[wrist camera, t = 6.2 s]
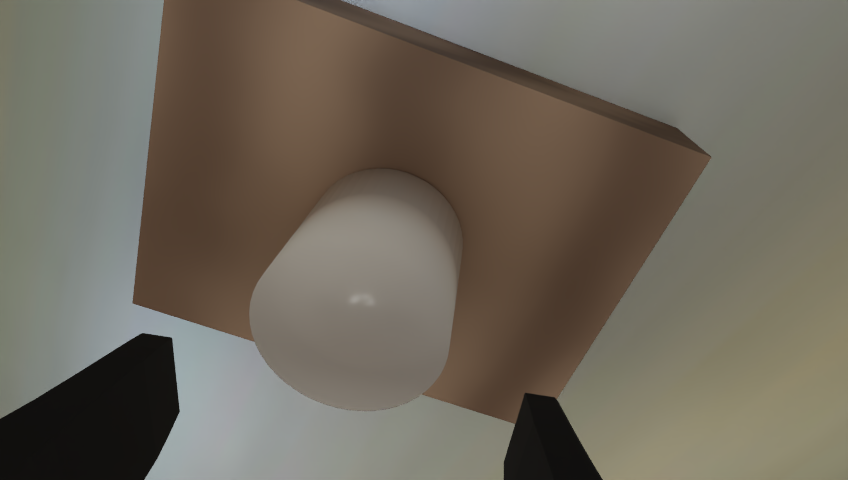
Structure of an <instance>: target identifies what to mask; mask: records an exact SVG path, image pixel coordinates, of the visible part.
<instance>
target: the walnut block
mask: <svg viewBox="0 0 848 480" xmlns="http://www.w3.org/2000/svg"><path fill="white" fill-rule="evenodd" d="M710 159H711V156H710V155H708V154H707V153H706V152H705V151H704V150H702V149H701V148H700V147H699V146H698V145H696V144H695V143H694V142H693V141H692V140H690V139H689V138H688V137H687V136H686V135H684V134H683V133H682V132H681V131H680V130H678V129H677V128H675V127H672V126H670V125H667V124H665V123H662V122H659V121H657V120H654V119H651V118H649V117H646V116H644V115H641V114H638V113H636V112H633V111H630V110H628V109H625V108H623V107H620V106H617V105H615V104H612V103H609V102H607V101H604V100H601V99H599V98H596V97H594V96H591V95H588V94H586V93H583V92H580V91H578V90H575V89H573V88H570V87H567V86H565V85H562V84H559V83H557V82H554V81H552V80H549V79H546V78H544V77H541V76H538V75H536V74H533V73H531V72H528V71H525V70H523V69H520V68H517V67H515V66H512V65H510V64H507V63H504V62H502V61H499V60H496V59H494V58H491V57H489V56H486V55H483V54H481V53H478V52H475V51H473V50H470V49H468V48H465V47H462V46H460V45H457V44H454V43H452V42H449V41H447V40H444V39H441V38H439V37H436V36H433V35H431V34H428V33H426V32H423V31H420V30H418V29H415V28H412V27H410V26H407V25H405V24H402V23H399V22H397V21H394V20H391V19H389V18H386V17H383V16H381V15H378V14H376V13H373V12H370V11H368V10H365V9H362V8H360V7H357V6H355V5H352V4H349V3H347V2H344V1H341V0H164V7H163V16H162V26H161V35H160V45H159V55H158V64H157V74H156V83H155V93H154V103H153V112H152V122H151V131H150V141H149V151H148V160H147V170H146V179H145V189H144V198H143V208H142V218H141V227H140V237H139V246H138V256H137V266H136V275H135V285H134V294H133V304H136V305H140V306H143V307H146V308H149V309H152V310H155V311H159V312H162V313H165V314H168V315H171V316H174V317H178V318H181V319H184V320H187V321H190V322H194V323H197V324H200V325H203V326H206V327H209V328H213V329H216V330H219V331H222V332H225V333H228V334H232V335H235V336H238V337H241V338H244V339H248V340H251V341H254V338H253V336H252V332H251V327H250V319H249V310H250V301H251V298H252V294H253V291H254V289H255V287H256V285H257V282H258V281H259V279H260V278H261V277H262V275H263V274H264V272H265V271H266V270H267V268H268V267H269V266H270V264H271V263H272V262H273V260H274V259H275V258H276V256H277V255H278V254H279V253H280V251H281V250H282V249H283V247H284V246H285V245H286V243H287V242H288V241H289V239H290V238H291V237H292V235H293V234H294V233H295V231H296V230H297V229H298V228H299V226H300V225H301V224H302V222H303V221H304V220H305V218H306V217H307V216H308V214H309V213H310V212H311V210H312V209H313V208H314V206H315V205H316V204H317V203H318V201H319V200H320V199H321V197H322V196H323V195H324V193H325V192H326V191H327V190H328V189H329V188H330V187H331V186H332V185H333V184H335V183H336V182H337V181H338V180H340V179H342V178H344V177H345V176H347V175H350V174H352V173H355V172H358V171H362V170H367V169H376V168H380V169H393V170H399V171H402V172H406V173H409V174H411V175H414V176H416V177H418V178H420V179H422V180H424V181H426V182H427V183H429V184H430V185H431V186H433V187H434V188H435V189H437V190H438V191H439V192H440V193H441V194H442V195H443V196H444V197H445V199H446V200H447V201H448V202H449V203H450V205H451V207H452V208H453V210H454V211H455V213H456V216H457V218H458V220H459V223H460V227H461V230H462V237H463V250H462V258H461V265H460V273H459V280H458V288H457V295H456V303H455V310H454V318H453V325H452V332H451V340H450V347H449V353H448V358H447V361H446V364H445V367H444V369H443V370H442V372H441V374H440V376H439V377H438V379H437V380H436V381H435V382H434V384H433V385H432V386H431V387H430V388H429V389H428V390H427V391H425V392H424V393H423V394H422V395H425V396H429V397H432V398H435V399H438V400H441V401H444V402H448V403H451V404H454V405H457V406H460V407H463V408H467V409H470V410H473V411H476V412H479V413H483V414H486V415H489V416H492V417H495V418H498V419H502V420H505V421H508V422H511V423H514V424H516V420H517V417H518V414H519V411H520V407H521V404H522V401H523V397H524V394H525V393H531V394H537V395H544V396H550V397H555V398H556V399H557V398H558V396H559V395H560V393H561V392H562V390H563V388H564V387H565V385H566V384H567V382H568V381H569V379H570V377H571V376H572V374H573V373H574V371H575V370H576V368H577V367H578V365H579V363H580V362H581V360H582V359H583V357H584V356H585V354H586V352H587V351H588V349H589V348H590V346H591V345H592V343H593V342H594V340H595V338H596V337H597V335H598V334H599V332H600V331H601V329H602V327H603V326H604V324H605V323H606V321H607V320H608V318H609V317H610V315H611V313H612V312H613V310H614V309H615V307H616V306H617V304H618V302H619V301H620V299H621V298H622V296H623V295H624V293H625V292H626V290H627V288H628V287H629V285H630V284H631V282H632V281H633V279H634V278H635V276H636V274H637V273H638V271H639V270H640V268H641V267H642V265H643V263H644V262H645V260H646V259H647V257H648V256H649V254H650V253H651V251H652V249H653V248H654V246H655V245H656V243H657V242H658V240H659V238H660V237H661V235H662V234H663V232H664V231H665V229H666V228H667V226H668V224H669V223H670V221H671V220H672V218H673V217H674V215H675V213H676V212H677V210H678V209H679V207H680V206H681V204H682V203H683V201H684V199H685V198H686V196H687V195H688V193H689V192H690V190H691V188H692V187H693V185H694V184H695V182H696V181H697V179H698V178H699V176H700V174H701V173H702V171H703V170H704V168H705V167H706V165H707V163H708V162H709V160H710ZM254 342H255V341H254Z"/></svg>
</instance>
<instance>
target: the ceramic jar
mask: <svg viewBox="0 0 848 480" xmlns="http://www.w3.org/2000/svg"><path fill="white" fill-rule="evenodd" d="M462 250H463V237H462V230H461V227H460V223H459V220H458V218H457V216H456V213H455V211H454V210H453V208H452V207H451V205H450V203H449V202H448V201H447V200H446V199H445V197H444V196H443V195H442V194H441V193H440V192H439V191H438V190H437V189H435V188H434V187H433V186H431V185H430V184H429V183H427V182H426V181H424V180H422V179H420V178H418V177H416V176H414V175H411V174H409V173H406V172H402V171H399V170H393V169H380V168H376V169H367V170H362V171H358V172H355V173H352V174H350V175H347V176H345V177H344V178H342V179H340V180H338V181H337V182H336V183H335V184H333V185H332V186H331V187H330V188H329V189H328V190H327V191H326V192H325V193H324V195H323V196H322V197H321V199H320V200H319V201H318V203H317V204H316V205H315V206H314V208H313V209H312V210H311V212H310V213H309V214H308V216H307V217H306V218H305V220H304V221H303V222H302V224H301V225H300V226H299V228H298V229H297V230H296V231H295V233H294V234H293V235H292V237H291V238H290V239H289V241H288V242H287V243H286V245H285V246H284V247H283V249H282V250H281V251H280V253H279V254H278V255H277V256H276V258H275V259H274V260H273V262H272V263H271V264H270V266H269V267H268V268H267V270H266V271H265V272H264V274H263V275H262V277H261V278H260V279H259V281H258V282H257V285H256V287H255V289H254V291H253V294H252V298H251V301H250V310H249V319H250V327H251V332H252V336H253V338H254V341H255V344H256V346H257V348H258V350H259V352H260V354H261V355H262V357H263V358H264V360H265V361H266V363H267V364H268V365H269V367H270V368H271V369H272V370H273V371H274V372H275V373H276V374H277V375H278V376H279V377H280V378H281V379H282V380H283V381H284V382H285V383H287V384H288V385H289V386H291V387H292V388H293V389H295V390H297V391H298V392H300V393H301V394H303V395H305V396H307V397H309V398H311V399H313V400H315V401H318V402H320V403H323V404H326V405H329V406H333V407H336V408H341V409H346V410H355V411H376V410H384V409H389V408H393V407H397V406H400V405H402V404H405V403H408V402H409V401H411V400H413V399H415V398H417V397H418V396H420V395H421V394H423V393H424V392H425V391H427V390H428V389H429V388H430V387H431V386H432V385H433V384H434V382H435V381H436V380H437V379H438V377H439V376H440V374H441V372H442V370H443V369H444V367H445V364H446V361H447V358H448V353H449V347H450V340H451V332H452V325H453V318H454V310H455V303H456V295H457V288H458V280H459V273H460V265H461V258H462Z"/></svg>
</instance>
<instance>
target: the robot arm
mask: <svg viewBox="0 0 848 480" xmlns="http://www.w3.org/2000/svg"><path fill="white" fill-rule="evenodd" d="M179 412H180V411H179V401H178V392H177V382H176V372H175V362H174V353H173V343H172V338H170V337H164V336H158V335H151V334H145V333H142V334H140V335H138V336H137V337H135V338H133V339H131V340H130V341H128V342H127V343H125V344H123V345H122V346H120V347H118V348H117V349H115V350H114V351H112V352H111V353H109V354H107V355H106V356H104V357H103V358H101V359H99V360H98V361H96V362H95V363H93V364H91V365H90V366H88V367H87V368H85V369H84V370H82V371H80V372H79V373H77V374H75V375H74V376H72V377H71V378H69V379H67V380H66V381H64V382H62V383H61V384H59V385H58V386H56V387H54V388H53V389H51V390H49V391H48V392H46V393H44V394H43V395H41V396H40V397H38V398H36V399H35V400H33V401H31V402H29V403H28V404H26V405H24V406H22V407H20V408H19V409H17V410H15V411H13V412H12V413H10V414H8V415H6V416H5V417H3V418H1V419H0V480H144V479H145V477H146V476H147V474H148V473H149V471H150V469H151V468H152V466H153V465H154V463H155V461H156V460H157V458H158V456H159V454H160V452H161V450H162V448H163V446H164V444H165V442H166V440H167V438H168V436H169V434H170V431H171V429H172V427H173V425H174V423H175V421H176V418H177V416H178V414H179ZM504 480H603V479H602V478H601V476H600V475H599V473H598V471H597V470H596V468H595V466H594V465H593V463H592V461H591V460H590V458H589V456H588V455H587V453H586V451H585V449H584V448H583V446H582V444H581V442H580V441H579V439H578V437H577V435H576V433H575V432H574V430H573V428H572V426H571V424H570V423H569V421H568V419H567V417H566V415H565V413H564V412H563V410H562V408H561V406H560V404H559V402H558V401H557V400H556V398H555V397H550V396H544V395H537V394H531V393H525V394H524V397H523V401H522V404H521V407H520V411H519V414H518V417H517V420H516V424H515V427H514V430H513V434H512V437H511V440H510V444H509V447H508V450H507V454H506V457H505V460H504Z"/></svg>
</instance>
